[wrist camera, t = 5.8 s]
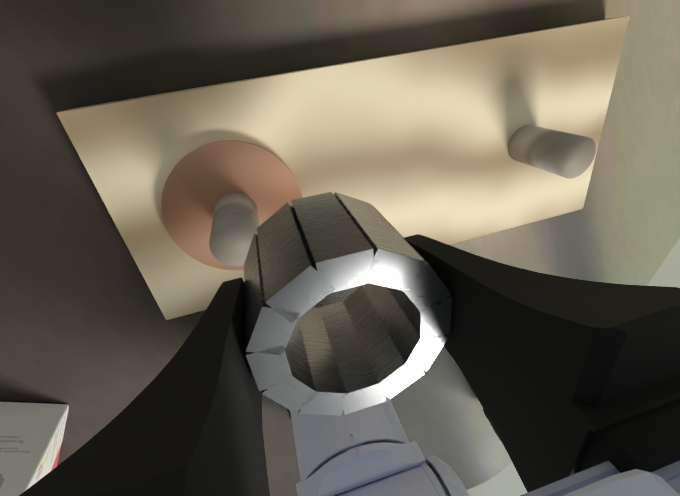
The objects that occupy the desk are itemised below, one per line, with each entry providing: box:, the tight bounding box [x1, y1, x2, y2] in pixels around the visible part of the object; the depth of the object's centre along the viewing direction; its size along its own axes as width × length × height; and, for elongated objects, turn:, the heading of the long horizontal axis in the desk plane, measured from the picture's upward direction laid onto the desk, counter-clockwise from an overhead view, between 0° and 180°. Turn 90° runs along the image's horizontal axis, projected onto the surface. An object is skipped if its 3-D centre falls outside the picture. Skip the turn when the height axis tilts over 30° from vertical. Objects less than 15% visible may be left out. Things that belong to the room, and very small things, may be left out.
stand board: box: [57, 16, 630, 320], centre depth 19 cm, size 12×30×6 cm, turn 98°
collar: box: [244, 192, 452, 416], centre depth 10 cm, size 5×5×4 cm
